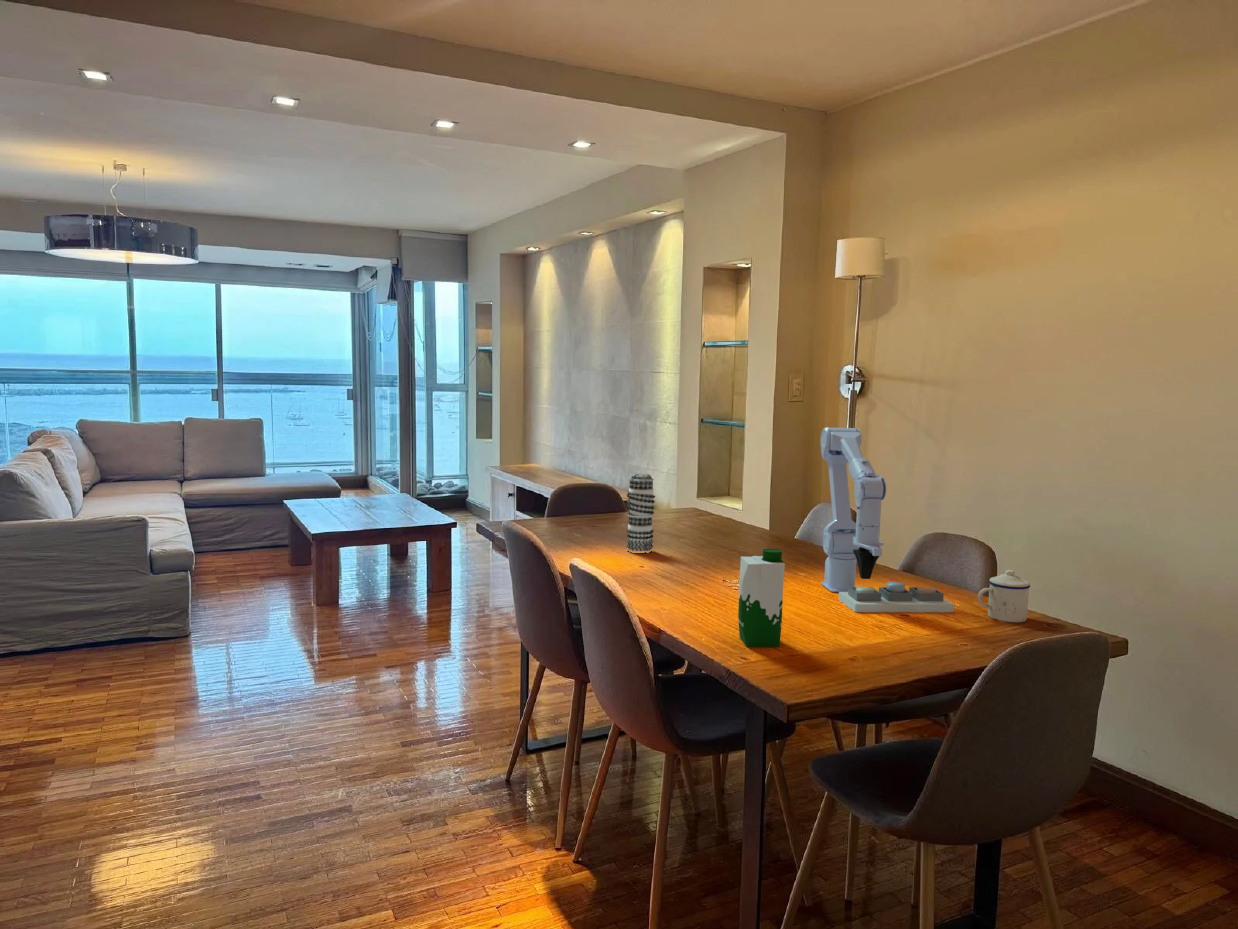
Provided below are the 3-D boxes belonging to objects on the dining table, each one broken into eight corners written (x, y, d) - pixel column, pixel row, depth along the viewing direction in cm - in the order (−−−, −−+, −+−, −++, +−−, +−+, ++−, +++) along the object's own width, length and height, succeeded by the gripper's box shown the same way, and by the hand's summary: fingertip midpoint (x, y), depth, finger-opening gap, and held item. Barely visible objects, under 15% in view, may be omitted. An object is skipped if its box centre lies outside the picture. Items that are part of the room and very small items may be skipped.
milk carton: (785, 648, 179) (788, 554, 177) (742, 648, 179) (745, 554, 177) (774, 635, 188) (778, 546, 186) (733, 635, 187) (737, 546, 185)
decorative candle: (621, 552, 273) (623, 475, 271) (629, 547, 282) (631, 472, 279) (649, 555, 271) (651, 476, 268) (656, 549, 279) (658, 473, 277)
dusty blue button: (883, 590, 217) (884, 581, 217) (900, 590, 217) (900, 581, 217) (890, 594, 213) (890, 586, 213) (907, 594, 213) (908, 586, 213)
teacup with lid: (1015, 612, 211) (1018, 566, 210) (1035, 623, 202) (1038, 575, 201) (968, 612, 210) (971, 566, 209) (986, 623, 201) (989, 574, 200)
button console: (838, 599, 220) (839, 584, 220) (932, 599, 222) (932, 584, 222) (854, 612, 209) (855, 596, 208) (953, 612, 211) (954, 596, 210)
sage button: (852, 595, 217) (853, 586, 216) (869, 595, 217) (870, 586, 217) (858, 599, 212) (859, 591, 212) (876, 599, 213) (876, 591, 212)
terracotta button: (913, 595, 218) (914, 586, 218) (930, 595, 218) (930, 586, 218) (921, 599, 214) (921, 591, 213) (938, 599, 214) (938, 591, 214)
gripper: (895, 530, 206) (892, 585, 207) (872, 520, 220) (870, 571, 222) (866, 530, 205) (863, 585, 207) (846, 519, 220) (843, 571, 221)
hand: (865, 578), depth 214 cm, fingers closed
